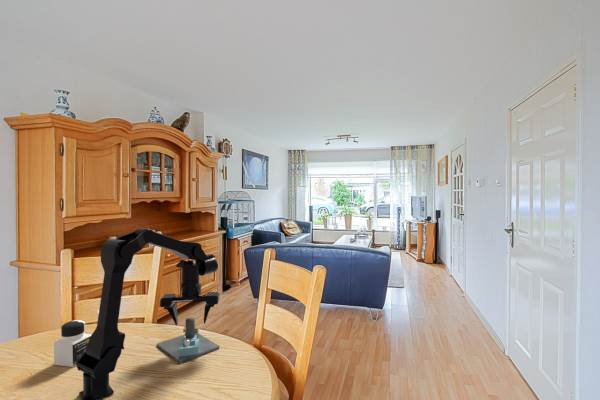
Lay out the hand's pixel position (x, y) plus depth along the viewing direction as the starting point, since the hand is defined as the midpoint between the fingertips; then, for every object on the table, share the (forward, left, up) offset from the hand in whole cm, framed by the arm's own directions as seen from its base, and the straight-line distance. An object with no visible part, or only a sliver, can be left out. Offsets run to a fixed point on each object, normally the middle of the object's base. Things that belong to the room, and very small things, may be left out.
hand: (190, 324), depth 111 cm
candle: (+27, +18, -8) cm, 33 cm away
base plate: (0, +1, -8) cm, 8 cm away
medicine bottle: (+18, +30, -8) cm, 36 cm away
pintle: (-4, +4, -8) cm, 10 cm away
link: (-1, +1, -7) cm, 7 cm away
